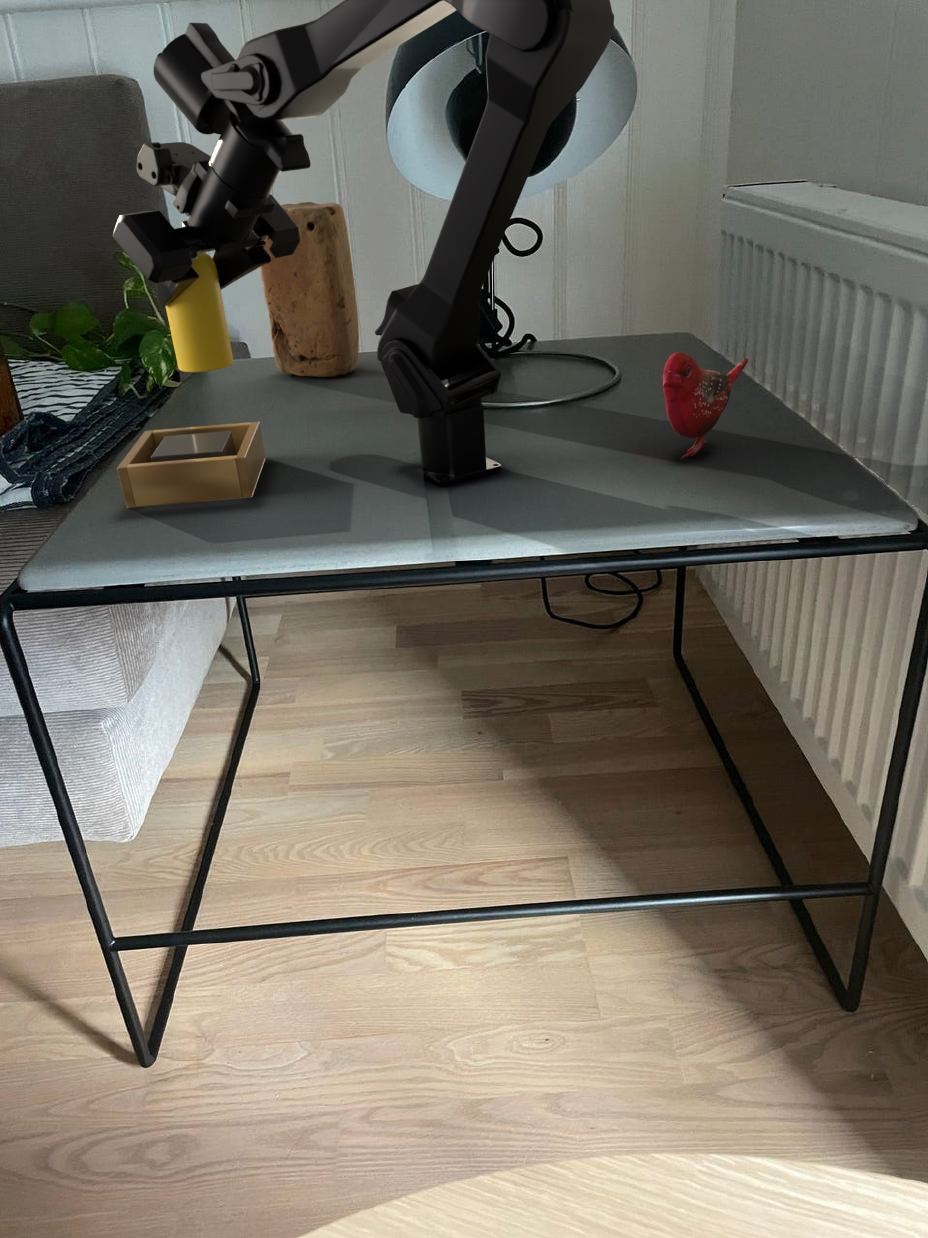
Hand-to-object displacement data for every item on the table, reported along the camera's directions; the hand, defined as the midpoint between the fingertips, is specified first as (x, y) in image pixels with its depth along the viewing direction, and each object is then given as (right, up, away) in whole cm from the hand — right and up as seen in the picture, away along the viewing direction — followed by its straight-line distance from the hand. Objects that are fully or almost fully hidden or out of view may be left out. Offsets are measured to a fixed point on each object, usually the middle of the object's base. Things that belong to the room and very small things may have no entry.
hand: (184, 297), depth 95 cm
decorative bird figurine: (+50, -17, -8) cm, 54 cm away
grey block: (+5, -20, -10) cm, 23 cm away
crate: (+5, -21, -10) cm, 23 cm away
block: (+10, -1, +27) cm, 28 cm away
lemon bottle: (+2, -6, +2) cm, 7 cm away
